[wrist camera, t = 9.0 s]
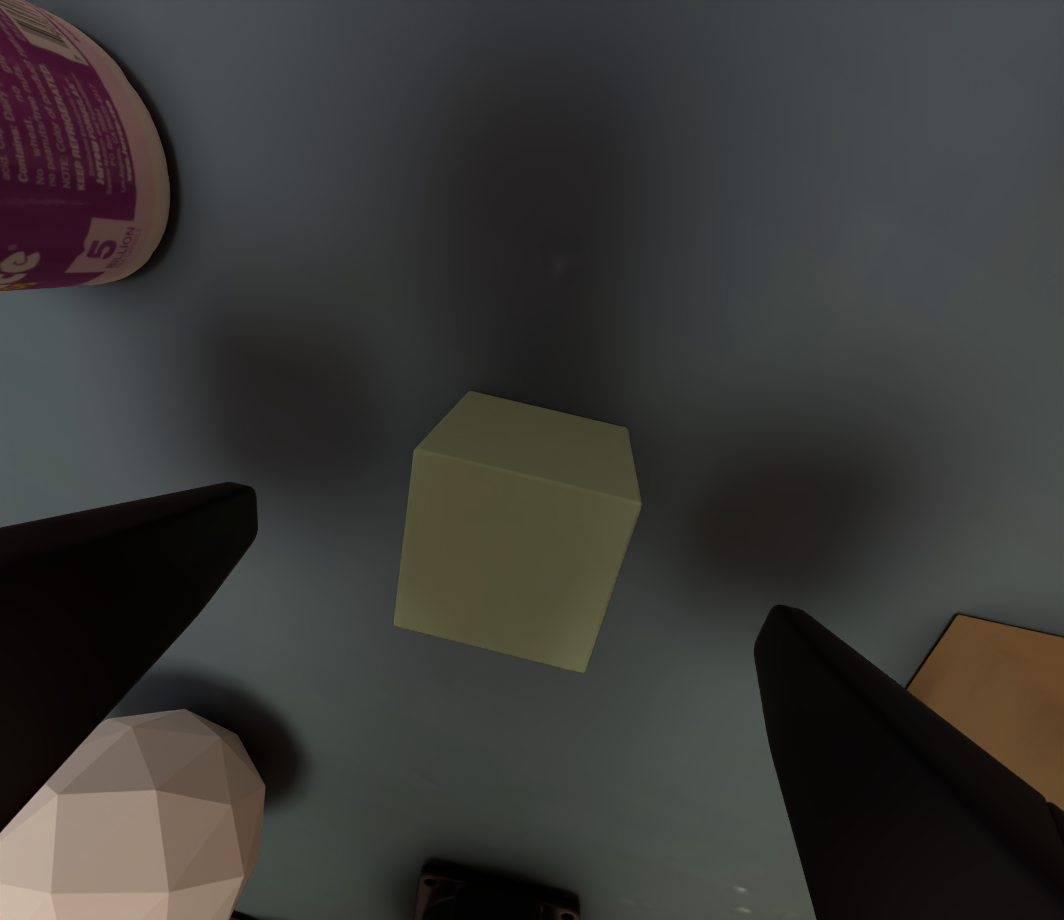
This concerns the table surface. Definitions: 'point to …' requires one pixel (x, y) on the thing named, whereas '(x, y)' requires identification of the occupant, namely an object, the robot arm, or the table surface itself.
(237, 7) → the table surface
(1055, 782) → the oak block
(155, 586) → the robot arm
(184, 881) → the geometric ball
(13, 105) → the pill bottle
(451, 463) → the green cube
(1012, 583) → the table surface
